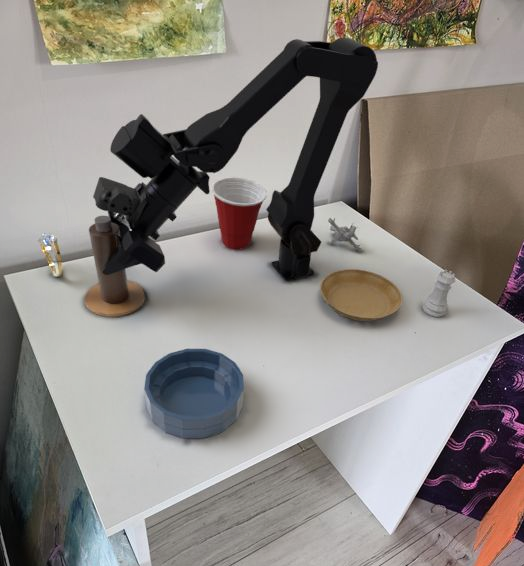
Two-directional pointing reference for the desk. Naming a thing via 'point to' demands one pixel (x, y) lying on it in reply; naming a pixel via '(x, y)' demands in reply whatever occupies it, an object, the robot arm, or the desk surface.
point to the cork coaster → (113, 310)
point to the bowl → (194, 393)
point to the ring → (51, 253)
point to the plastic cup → (237, 209)
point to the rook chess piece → (439, 295)
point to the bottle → (103, 248)
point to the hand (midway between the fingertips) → (101, 265)
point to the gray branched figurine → (344, 234)
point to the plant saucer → (360, 294)
